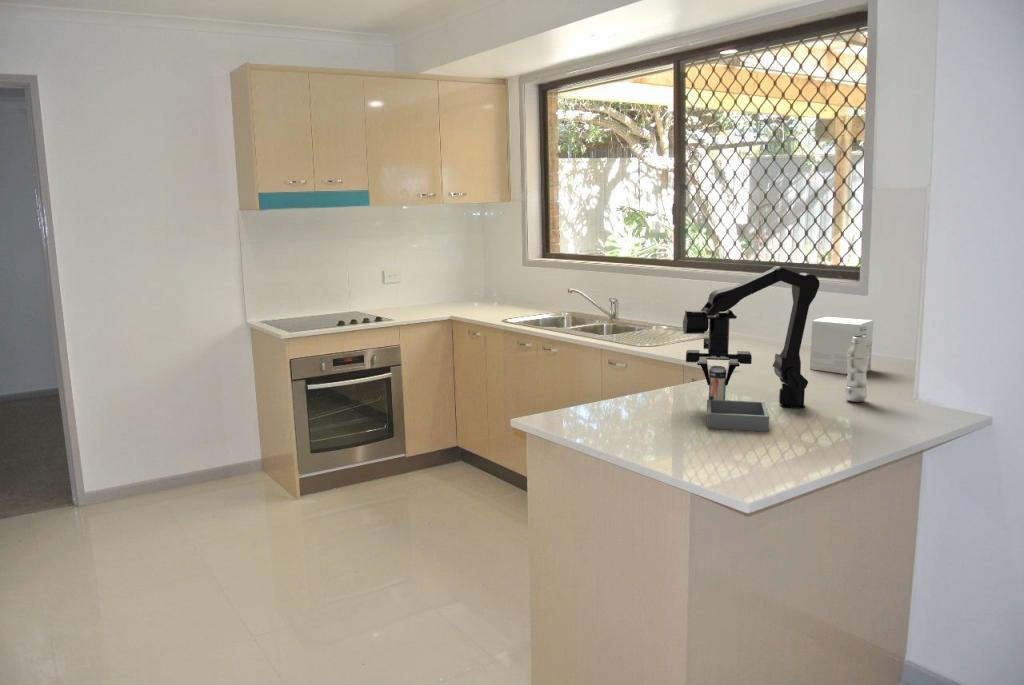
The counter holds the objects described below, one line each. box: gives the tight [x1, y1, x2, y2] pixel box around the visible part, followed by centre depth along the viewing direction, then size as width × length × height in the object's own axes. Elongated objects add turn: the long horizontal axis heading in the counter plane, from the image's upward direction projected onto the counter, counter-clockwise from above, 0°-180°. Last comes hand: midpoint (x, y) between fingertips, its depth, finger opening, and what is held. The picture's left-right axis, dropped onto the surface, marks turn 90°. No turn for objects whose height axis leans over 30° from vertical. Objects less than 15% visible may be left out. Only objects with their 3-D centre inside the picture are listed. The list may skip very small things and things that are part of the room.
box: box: [706, 399, 770, 432], centre depth 225 cm, size 16×16×4 cm
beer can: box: [708, 365, 727, 400], centre depth 241 cm, size 5×5×12 cm
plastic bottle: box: [843, 336, 870, 403], centre depth 243 cm, size 6×7×20 cm
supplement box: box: [809, 316, 874, 375], centre depth 288 cm, size 17×13×18 cm
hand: (717, 385), depth 241 cm, fingers closed on beer can, 5 cm apart
